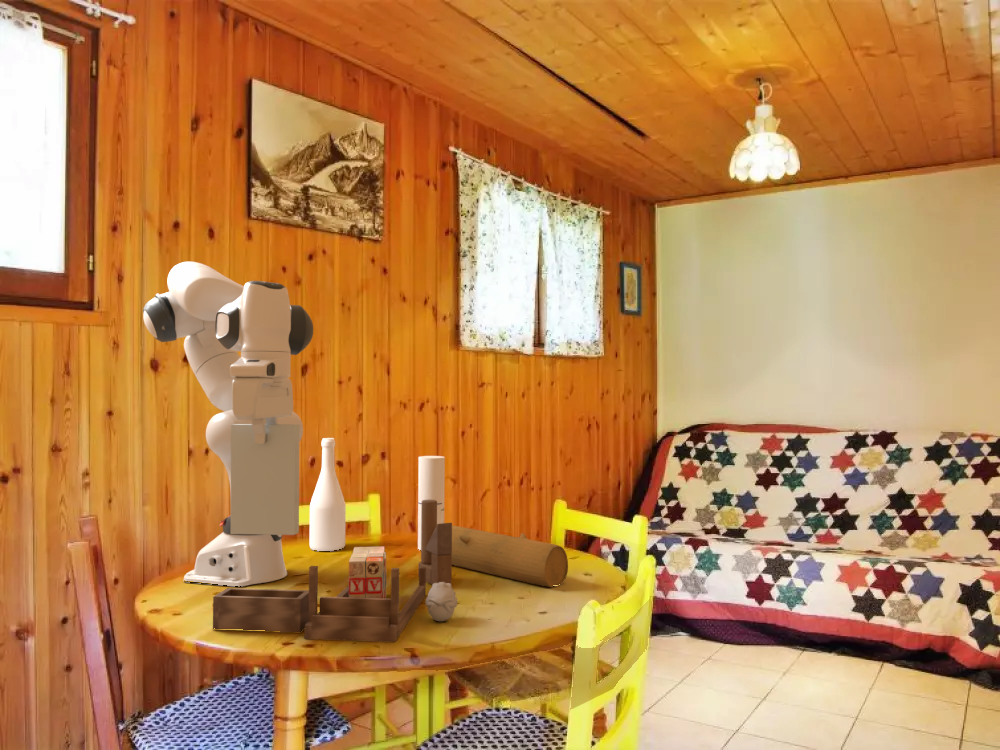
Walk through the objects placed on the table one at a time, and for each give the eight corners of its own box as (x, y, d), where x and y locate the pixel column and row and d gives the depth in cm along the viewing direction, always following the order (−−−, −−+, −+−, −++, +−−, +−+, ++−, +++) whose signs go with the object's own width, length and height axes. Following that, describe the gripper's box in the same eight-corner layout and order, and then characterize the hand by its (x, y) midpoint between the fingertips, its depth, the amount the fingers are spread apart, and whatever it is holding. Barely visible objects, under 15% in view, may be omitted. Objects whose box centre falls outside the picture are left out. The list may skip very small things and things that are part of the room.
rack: (304, 639, 134) (305, 570, 134) (351, 593, 163) (352, 537, 163) (394, 642, 132) (395, 572, 132) (425, 595, 162) (426, 538, 162)
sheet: (230, 533, 140) (231, 424, 140) (236, 531, 142) (236, 424, 143) (294, 535, 139) (294, 425, 139) (298, 532, 142) (299, 424, 142)
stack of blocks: (356, 595, 162) (357, 537, 162) (386, 595, 163) (387, 537, 163) (347, 627, 141) (348, 560, 141) (382, 626, 141) (382, 559, 142)
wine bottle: (349, 545, 212) (350, 437, 213) (338, 552, 203) (339, 439, 203) (316, 544, 213) (317, 437, 214) (304, 551, 204) (305, 439, 204)
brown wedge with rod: (437, 588, 168) (437, 506, 168) (417, 577, 177) (418, 499, 177) (452, 586, 169) (452, 505, 170) (432, 575, 179) (432, 498, 179)
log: (423, 563, 192) (424, 523, 192) (451, 557, 199) (451, 519, 199) (541, 592, 166) (542, 546, 166) (568, 584, 173) (569, 539, 173)
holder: (212, 630, 138) (213, 596, 138) (227, 620, 144) (227, 588, 144) (300, 632, 137) (300, 599, 137) (311, 622, 143) (311, 590, 143)
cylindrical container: (412, 548, 209) (413, 456, 209) (433, 544, 214) (433, 455, 214) (428, 552, 204) (429, 458, 204) (449, 549, 208) (450, 457, 209)
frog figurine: (458, 615, 148) (458, 578, 148) (455, 626, 141) (456, 588, 141) (427, 614, 148) (427, 578, 148) (422, 625, 141) (423, 588, 141)
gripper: (270, 369, 152) (270, 438, 152) (225, 366, 132) (224, 447, 131) (301, 369, 151) (300, 439, 151) (261, 366, 131) (260, 447, 131)
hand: (265, 442), depth 141 cm, fingers closed on sheet, 2 cm apart
